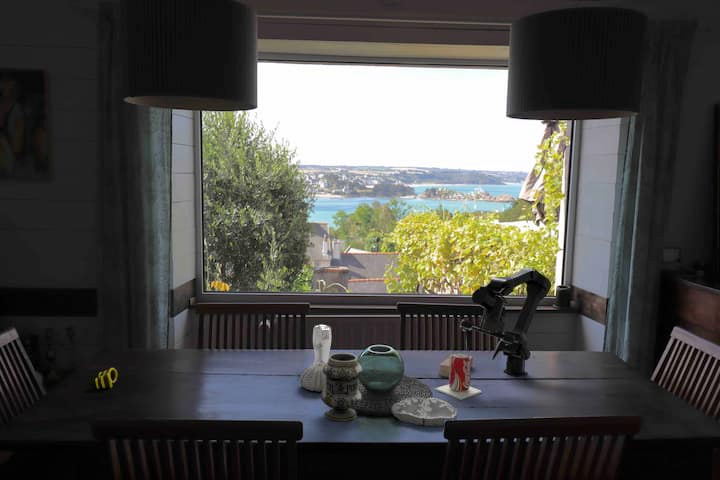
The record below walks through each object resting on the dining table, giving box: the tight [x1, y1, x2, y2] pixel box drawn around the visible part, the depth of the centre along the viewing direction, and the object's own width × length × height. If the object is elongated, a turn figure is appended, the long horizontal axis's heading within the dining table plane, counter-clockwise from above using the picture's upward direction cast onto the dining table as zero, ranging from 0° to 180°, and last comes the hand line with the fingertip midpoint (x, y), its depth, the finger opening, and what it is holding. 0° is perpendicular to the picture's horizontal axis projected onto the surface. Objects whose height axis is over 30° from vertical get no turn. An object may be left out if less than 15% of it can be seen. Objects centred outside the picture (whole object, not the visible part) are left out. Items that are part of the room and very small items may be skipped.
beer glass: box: [312, 324, 332, 364], centre depth 217 cm, size 7×7×15 cm
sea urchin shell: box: [299, 363, 326, 392], centre depth 195 cm, size 13×14×8 cm
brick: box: [438, 353, 474, 378], centre depth 216 cm, size 17×8×5 cm, turn 153°
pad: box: [434, 383, 483, 401], centre depth 195 cm, size 11×11×1 cm
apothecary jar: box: [320, 352, 363, 422], centre depth 172 cm, size 12×12×18 cm
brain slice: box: [391, 396, 458, 427], centre depth 173 cm, size 20×17×3 cm
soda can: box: [448, 351, 472, 392], centre depth 194 cm, size 7×7×12 cm
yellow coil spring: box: [95, 367, 118, 390], centre depth 193 cm, size 10×5×5 cm, turn 12°
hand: (479, 355), depth 200 cm, fingers open, 9 cm apart
